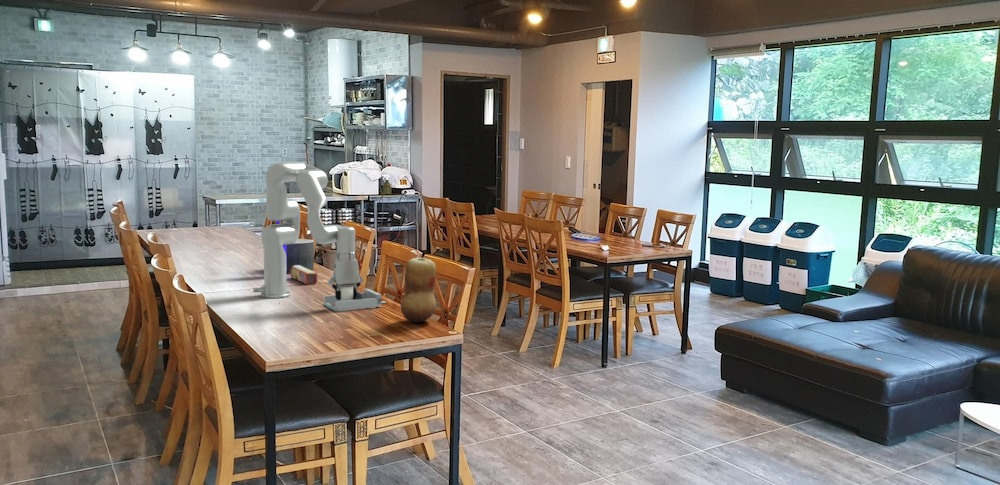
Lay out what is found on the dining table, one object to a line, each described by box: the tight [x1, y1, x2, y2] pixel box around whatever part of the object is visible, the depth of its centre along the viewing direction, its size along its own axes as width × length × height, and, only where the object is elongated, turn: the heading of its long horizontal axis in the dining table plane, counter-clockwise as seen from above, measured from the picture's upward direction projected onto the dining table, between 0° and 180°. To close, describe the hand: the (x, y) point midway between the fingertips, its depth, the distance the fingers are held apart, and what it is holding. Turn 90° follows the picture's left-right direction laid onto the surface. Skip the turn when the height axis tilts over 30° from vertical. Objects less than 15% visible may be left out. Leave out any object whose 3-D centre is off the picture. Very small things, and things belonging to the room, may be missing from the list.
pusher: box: [353, 290, 387, 304], centre depth 327 cm, size 13×11×6 cm
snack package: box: [289, 265, 318, 286], centre depth 375 cm, size 21×7×7 cm, turn 35°
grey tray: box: [323, 288, 382, 313], centre depth 322 cm, size 20×14×6 cm
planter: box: [286, 238, 315, 274], centre depth 403 cm, size 18×18×16 cm
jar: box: [339, 284, 354, 301], centre depth 320 cm, size 6×6×8 cm
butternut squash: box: [400, 257, 437, 323], centre depth 297 cm, size 14×13×25 cm
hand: (345, 298), depth 320 cm, fingers closed on jar, 6 cm apart
